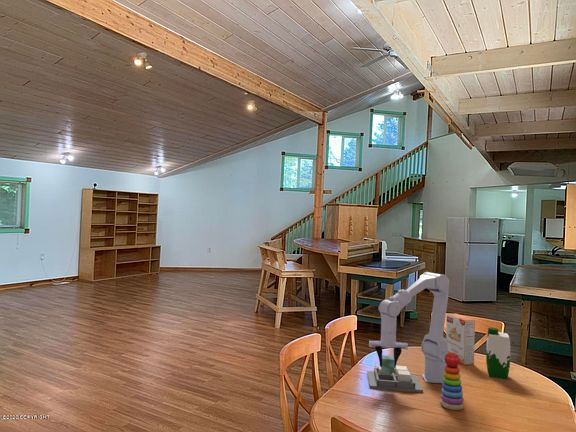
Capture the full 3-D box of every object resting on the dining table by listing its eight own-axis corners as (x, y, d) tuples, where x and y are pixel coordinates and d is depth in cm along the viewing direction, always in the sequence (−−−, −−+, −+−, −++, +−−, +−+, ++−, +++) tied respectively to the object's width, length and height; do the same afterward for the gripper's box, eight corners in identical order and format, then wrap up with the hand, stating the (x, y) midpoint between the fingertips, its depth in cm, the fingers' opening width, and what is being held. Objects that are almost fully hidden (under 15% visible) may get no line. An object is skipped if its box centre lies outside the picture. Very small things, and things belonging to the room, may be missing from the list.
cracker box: (444, 355, 204) (445, 313, 205) (455, 355, 206) (456, 313, 206) (463, 365, 191) (464, 320, 191) (474, 364, 192) (475, 319, 192)
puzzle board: (415, 377, 174) (416, 364, 174) (423, 392, 158) (423, 378, 158) (367, 373, 176) (367, 360, 176) (369, 388, 160) (370, 373, 160)
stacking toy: (463, 403, 149) (464, 351, 150) (464, 413, 142) (466, 358, 142) (439, 399, 152) (441, 348, 152) (440, 408, 144) (441, 354, 145)
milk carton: (485, 370, 185) (486, 325, 185) (508, 374, 181) (509, 328, 182) (486, 377, 177) (487, 330, 177) (510, 381, 173) (511, 333, 173)
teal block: (392, 368, 163) (393, 356, 163) (394, 373, 159) (394, 359, 159) (381, 368, 164) (381, 355, 164) (382, 372, 159) (382, 359, 159)
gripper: (370, 332, 158) (369, 368, 158) (409, 335, 157) (408, 371, 157) (369, 328, 165) (368, 362, 165) (406, 330, 164) (405, 365, 164)
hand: (387, 366), depth 161 cm, fingers closed on teal block, 4 cm apart
